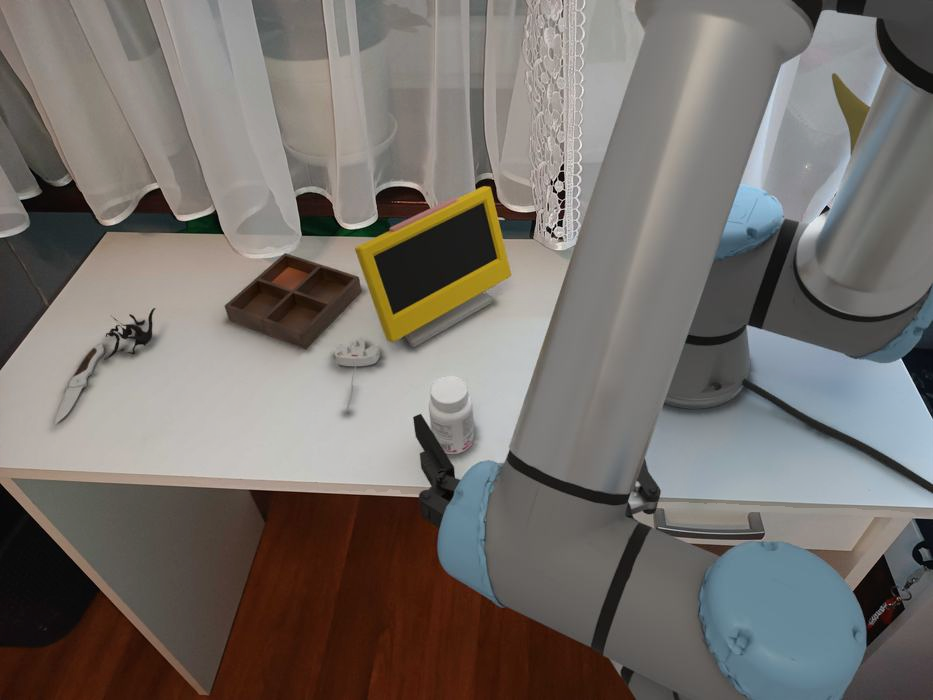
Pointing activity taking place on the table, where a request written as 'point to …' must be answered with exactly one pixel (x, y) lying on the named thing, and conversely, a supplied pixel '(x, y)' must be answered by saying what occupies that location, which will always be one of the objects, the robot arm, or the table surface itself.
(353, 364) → the game controller
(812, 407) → the table surface
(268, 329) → the grid
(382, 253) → the yellow framed monitor
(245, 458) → the table surface
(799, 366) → the table surface
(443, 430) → the pill bottle
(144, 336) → the creature
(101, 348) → the pocket knife
